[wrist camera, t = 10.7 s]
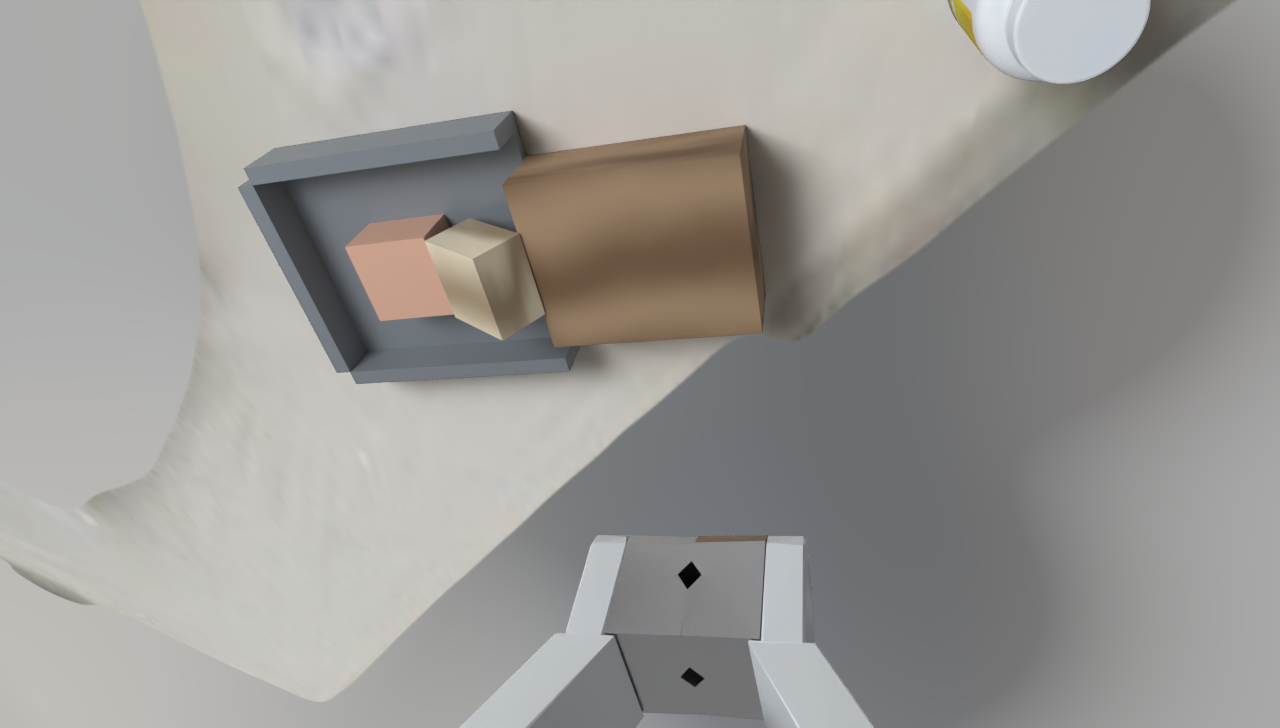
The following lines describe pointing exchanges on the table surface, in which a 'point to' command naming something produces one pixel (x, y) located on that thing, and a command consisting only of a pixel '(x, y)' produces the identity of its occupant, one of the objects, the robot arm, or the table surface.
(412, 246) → the salmon pink square block
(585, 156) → the brown wooden slab
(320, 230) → the tray
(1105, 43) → the supplement bottle
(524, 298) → the cream wooden block
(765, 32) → the table surface
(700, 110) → the table surface
